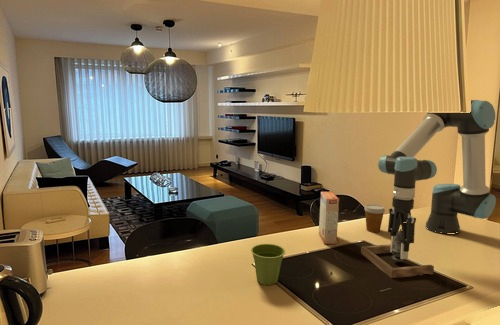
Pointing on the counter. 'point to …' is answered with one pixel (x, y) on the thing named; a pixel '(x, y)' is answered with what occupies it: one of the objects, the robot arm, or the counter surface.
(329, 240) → the cracker box
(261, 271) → the plant pot
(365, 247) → the brown u-shaped bracket
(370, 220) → the disposable coffee cup
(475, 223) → the counter surface
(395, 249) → the dark grey candlestick
